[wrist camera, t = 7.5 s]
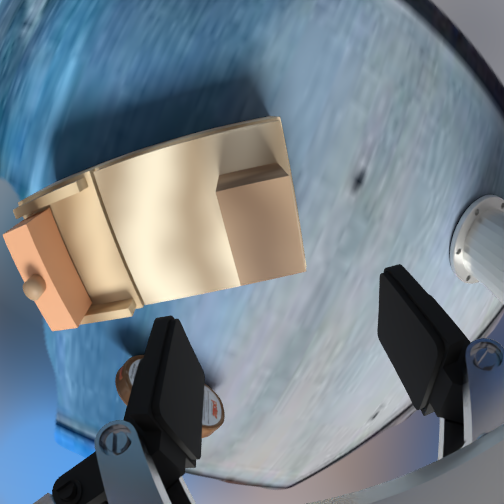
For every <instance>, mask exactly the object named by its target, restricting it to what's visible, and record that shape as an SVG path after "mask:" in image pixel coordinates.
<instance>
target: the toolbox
mask: <svg viewBox="0 0 504 504" xmlns="http://www.w3.org/2000/svg"><path fill="white" fill-rule="evenodd" d="M275 120H280V123H281V119H280V117H275V116H268V117H263V118H257V119H253V120H248V121H243V122H238V123H234V124H229V125H225V126H221V127H217V128H213V129H209V130H205V131H201V132H197V133H193V134H190V135H186V136H183V137H179V138H175V139H172V140H169V141H165V142H162V143H159V144H156V145H152V146H149V147H146V148H143V149H140V150H137V151H134V152H131V153H128V154H125V155H123V156H120V157H117V158H114V159H111V160H109V161H106V162H103V163H101V164H98V165H96V166H93V167H90V168H88V169H85V170H83V171H81V172H78V173H76V174H73V175H71V176H69V177H66V178H64V179H62V180H59V181H57V182H55V183H53V184H51V185H49V186H47V187H45V188H44V189H42V190H40V191H38V192H36V193H34V194H33V195H31V196H29V197H27V198H25V199H24V200H22V201H20V202H18V204H19V207H17V208H16V209H14V210H13V212H14V215H15V217H16V219H18V218H20V217H22V216H23V218H24V219H26V218H28V217H30V216H32V215H34V214H37V213H39V212H41V211H44V210H46V209H48V208H50V210H51V212H52V215H53V218H54V220H55V223H56V225H57V228H58V230H59V233H60V235H61V238H62V240H63V242H64V245H65V247H66V249H67V252H68V254H69V256H70V258H71V260H72V263H73V265H74V267H75V269H76V271H77V273H78V275H79V278H80V280H81V282H82V284H83V286H84V288H85V290H86V292H87V294H88V295H89V297H90V299H91V301H92V304H91V306H90V307H89V309H88V311H87V312H86V314H85V316H84V318H83V319H82V321H81V323H80V324H87V323H93V322H100V321H106V320H112V319H118V318H124V317H130V316H133V313H134V311H135V309H137V308H142V307H143V306H144V304H145V303H144V301H143V299H142V297H141V294H140V292H139V290H138V288H137V286H136V283H135V281H134V279H133V277H132V274H131V272H130V270H129V267H128V265H127V263H126V260H125V258H124V255H123V253H122V250H121V248H120V245H119V243H118V240H117V238H116V235H115V233H114V230H113V227H112V225H111V222H110V219H109V217H108V214H107V211H106V208H105V205H104V203H103V200H102V197H101V194H100V191H99V188H98V185H97V182H96V179H95V176H94V172H95V171H97V170H99V169H101V168H104V167H107V166H109V165H112V164H115V163H118V162H121V161H123V160H126V159H129V158H132V157H135V156H138V155H141V154H144V153H147V152H150V151H154V150H157V149H160V148H163V147H167V146H170V145H174V144H177V143H181V142H184V141H188V140H191V139H195V138H199V137H203V136H207V135H211V134H215V133H219V132H223V131H227V130H231V129H236V128H240V127H245V126H250V125H255V124H260V123H265V122H270V121H275ZM281 128H282V124H281ZM282 133H283V129H282ZM283 138H284V134H283ZM284 143H285V139H284ZM285 148H286V144H285ZM286 153H287V149H286ZM287 158H288V154H287ZM288 163H289V159H288ZM289 169H290V165H289ZM290 174H291V170H290ZM291 180H292V175H291ZM292 185H293V181H292ZM293 191H294V187H293ZM294 196H295V192H294ZM295 202H296V198H295ZM296 208H297V204H296ZM297 214H298V210H297ZM298 220H299V216H298ZM299 226H300V222H299ZM300 233H301V228H300ZM301 239H302V235H301ZM302 245H303V241H302ZM303 252H304V248H303ZM304 259H305V254H304ZM305 266H306V261H305Z"/></svg>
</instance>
